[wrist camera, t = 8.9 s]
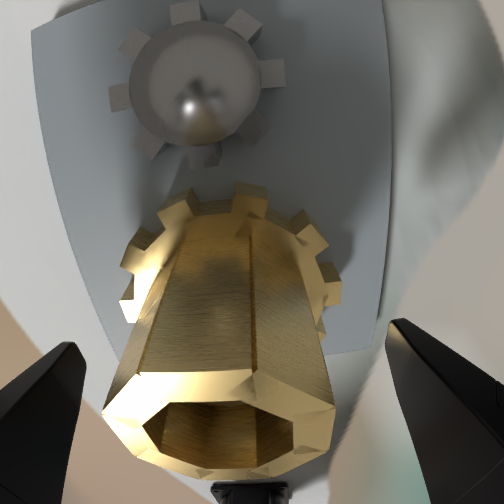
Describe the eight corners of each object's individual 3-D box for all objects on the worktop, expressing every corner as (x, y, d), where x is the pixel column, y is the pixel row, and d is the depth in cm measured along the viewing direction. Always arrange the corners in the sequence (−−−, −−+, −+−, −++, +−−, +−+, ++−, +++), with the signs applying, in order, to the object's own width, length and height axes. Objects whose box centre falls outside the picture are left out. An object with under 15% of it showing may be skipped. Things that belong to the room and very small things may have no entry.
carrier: (365, 333, 14) (403, 434, 9) (126, 350, 14) (93, 448, 9) (366, -16, 7) (455, -78, 2) (46, 33, 8) (-66, 23, 3)
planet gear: (329, 346, 13) (363, 478, 7) (159, 359, 13) (129, 486, 8) (332, 172, 9) (431, 282, 4) (106, 200, 10) (-6, 316, 4)
